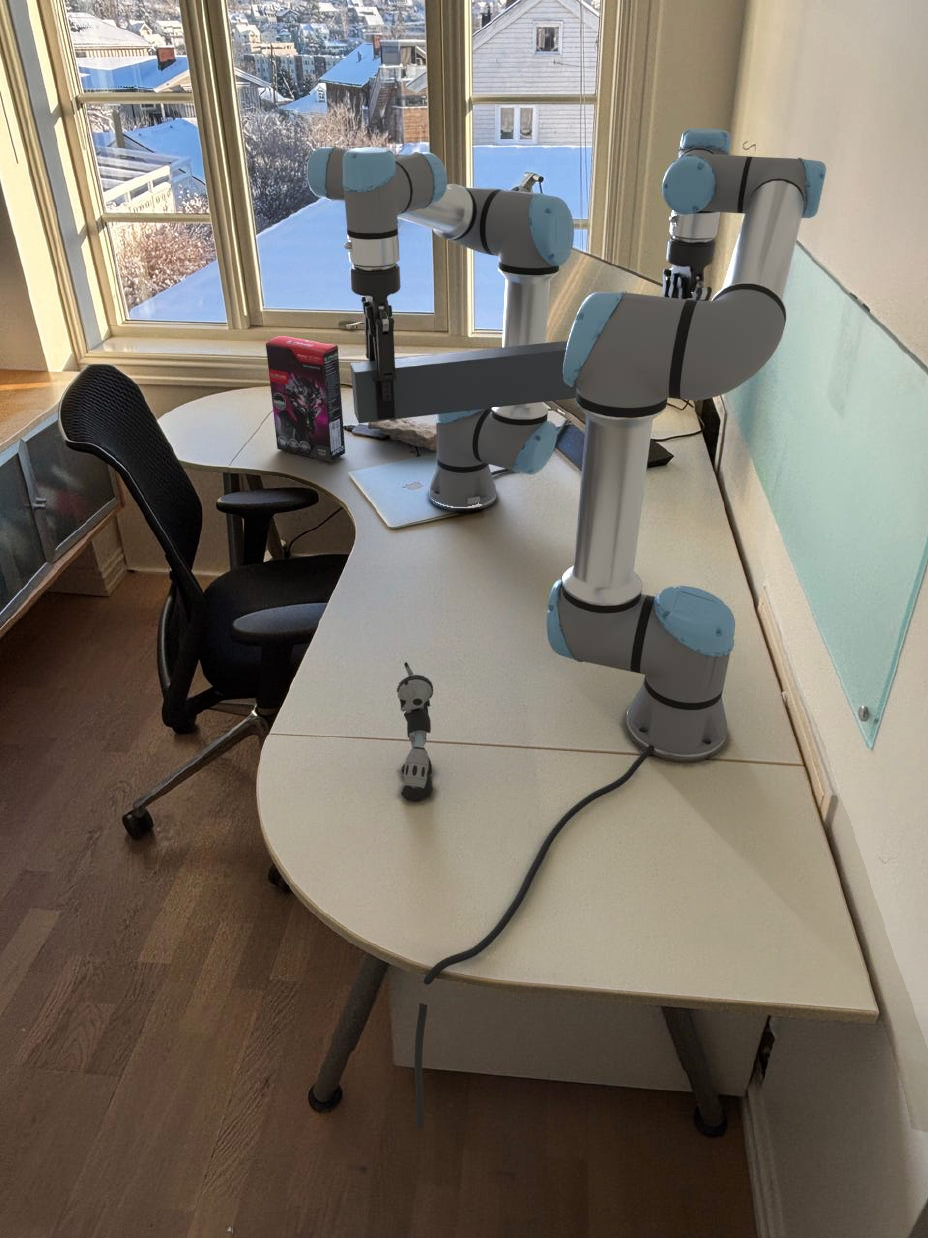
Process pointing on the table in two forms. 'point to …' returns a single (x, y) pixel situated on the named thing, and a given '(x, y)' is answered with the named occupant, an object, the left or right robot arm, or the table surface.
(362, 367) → the post
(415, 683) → the robot
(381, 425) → the stone
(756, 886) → the table surface
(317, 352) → the graphics card box
